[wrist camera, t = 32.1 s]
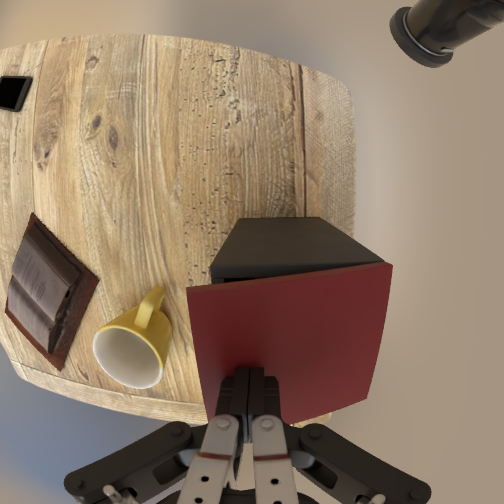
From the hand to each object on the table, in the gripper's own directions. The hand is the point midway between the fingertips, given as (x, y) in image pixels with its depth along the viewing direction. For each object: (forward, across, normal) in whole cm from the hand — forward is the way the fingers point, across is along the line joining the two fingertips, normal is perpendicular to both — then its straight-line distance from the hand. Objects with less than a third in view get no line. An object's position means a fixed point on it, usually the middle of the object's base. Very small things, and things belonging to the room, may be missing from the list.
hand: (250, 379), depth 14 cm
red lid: (+2, -3, 0) cm, 3 cm away
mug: (+25, +16, +9) cm, 30 cm away
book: (+25, +41, +7) cm, 49 cm away
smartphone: (+24, +48, -35) cm, 65 cm away
